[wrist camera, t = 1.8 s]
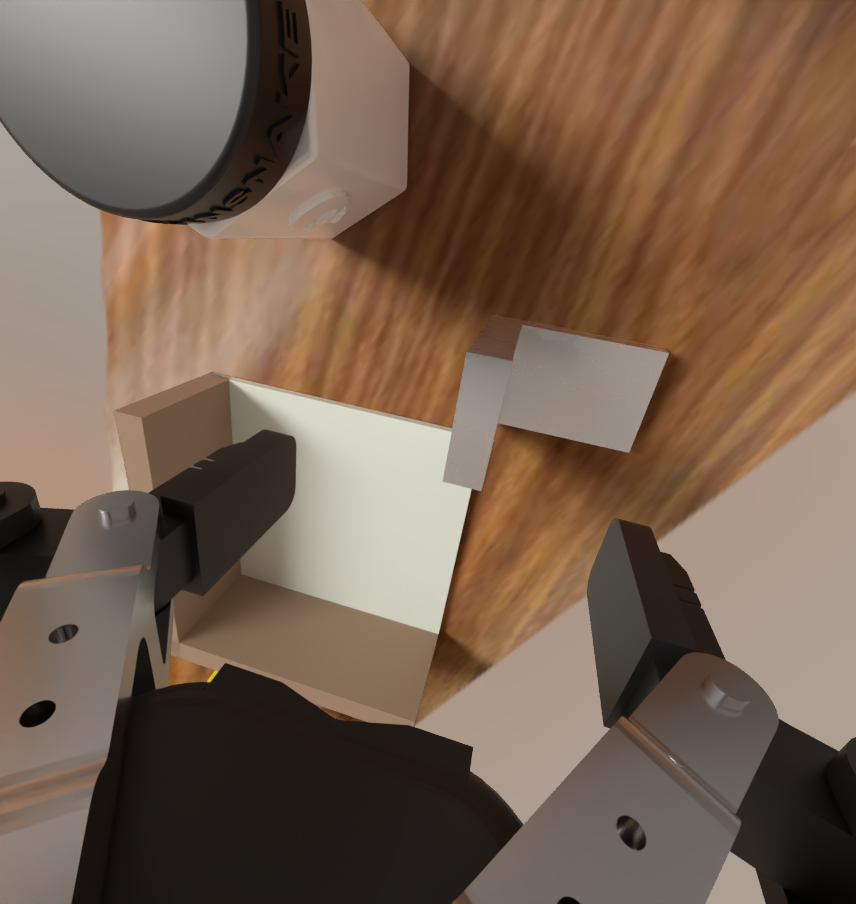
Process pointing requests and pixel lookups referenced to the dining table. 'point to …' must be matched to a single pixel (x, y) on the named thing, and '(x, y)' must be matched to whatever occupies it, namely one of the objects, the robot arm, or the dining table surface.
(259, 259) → the dining table surface
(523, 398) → the bracket
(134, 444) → the tray
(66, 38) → the jar
